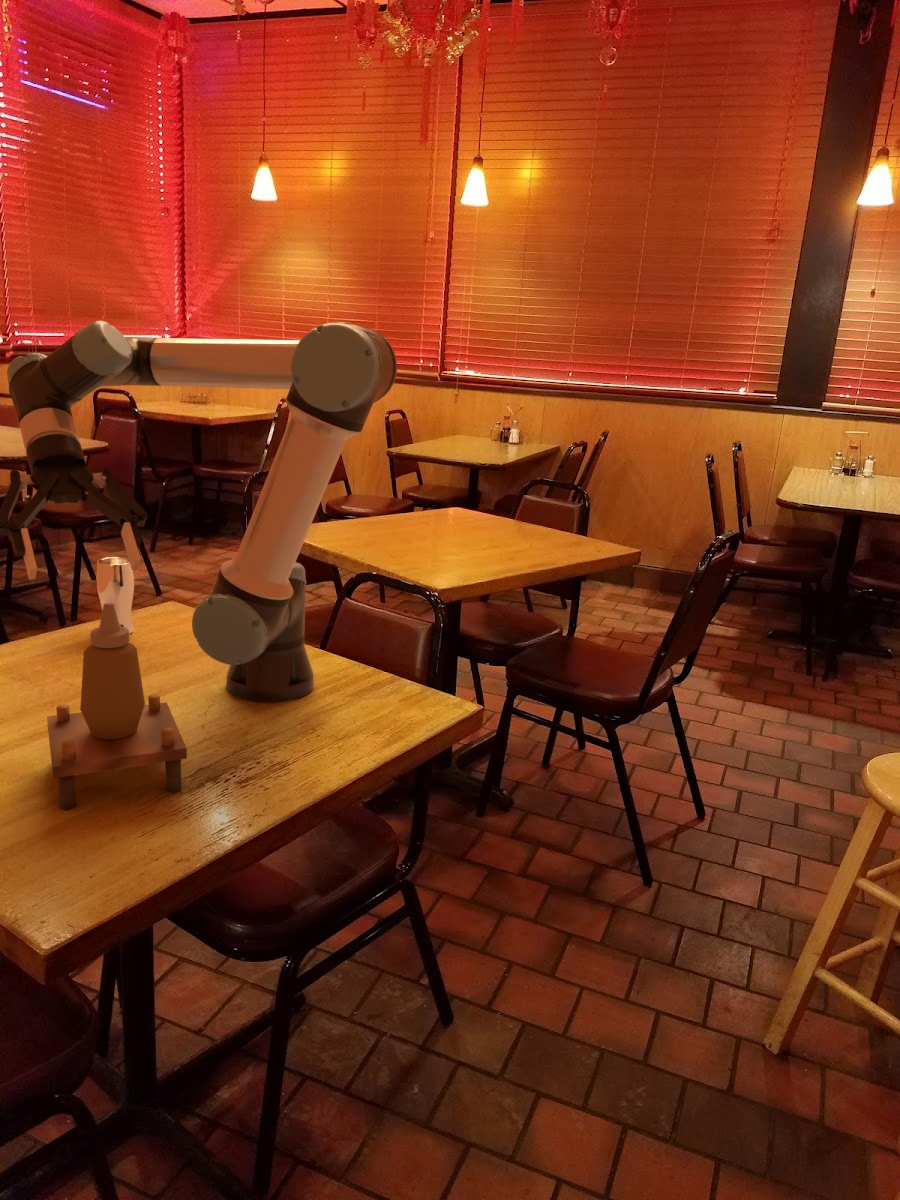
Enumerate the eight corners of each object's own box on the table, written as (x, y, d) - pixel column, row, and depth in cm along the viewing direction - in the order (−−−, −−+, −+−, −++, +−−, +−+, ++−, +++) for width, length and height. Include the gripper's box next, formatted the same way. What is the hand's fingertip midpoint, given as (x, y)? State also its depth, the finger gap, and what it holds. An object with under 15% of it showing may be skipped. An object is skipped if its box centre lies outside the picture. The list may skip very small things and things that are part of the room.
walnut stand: (167, 742, 126) (166, 689, 123) (187, 792, 112) (186, 734, 110) (50, 758, 118) (46, 703, 116) (55, 814, 105) (51, 752, 103)
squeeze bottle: (113, 714, 119) (107, 592, 114) (158, 727, 116) (155, 602, 111) (68, 736, 111) (60, 606, 106) (115, 749, 109) (109, 617, 104)
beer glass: (114, 639, 167) (110, 566, 163) (92, 632, 170) (88, 560, 166) (143, 631, 173) (140, 561, 168) (121, 624, 176) (118, 555, 172)
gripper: (134, 461, 134) (169, 574, 126) (-45, 464, 119) (-17, 593, 112) (144, 431, 128) (181, 547, 121) (-43, 430, 113) (-13, 563, 106)
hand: (86, 569), depth 116 cm, fingers open, 13 cm apart
